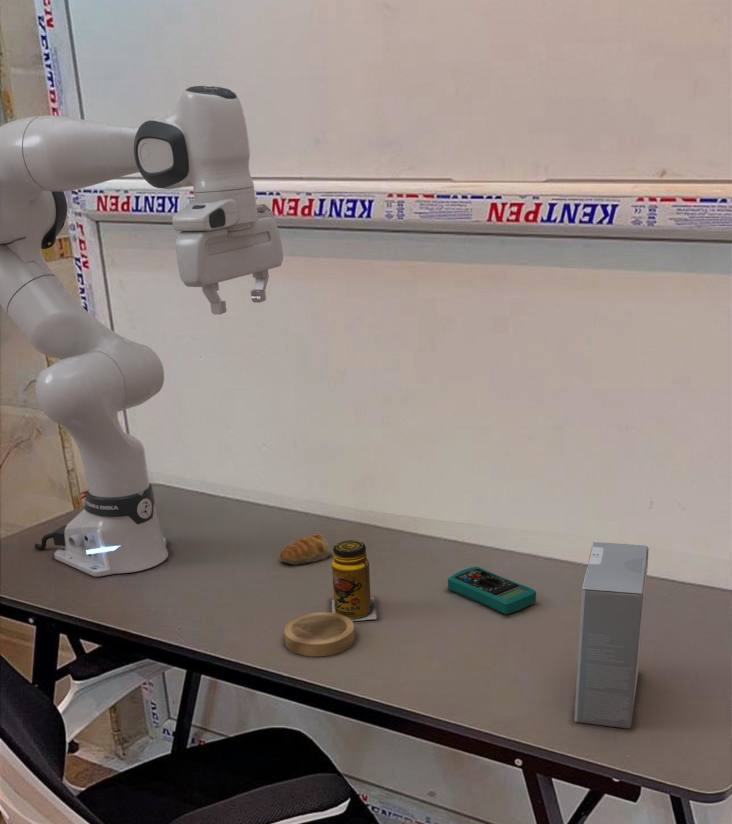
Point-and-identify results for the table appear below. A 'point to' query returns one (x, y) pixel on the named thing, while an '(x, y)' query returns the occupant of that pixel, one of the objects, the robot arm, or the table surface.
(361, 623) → the table surface
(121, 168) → the robot arm
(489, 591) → the digital multimeter
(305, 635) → the coaster
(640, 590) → the hard drive box
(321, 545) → the pastry
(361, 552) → the condiment
